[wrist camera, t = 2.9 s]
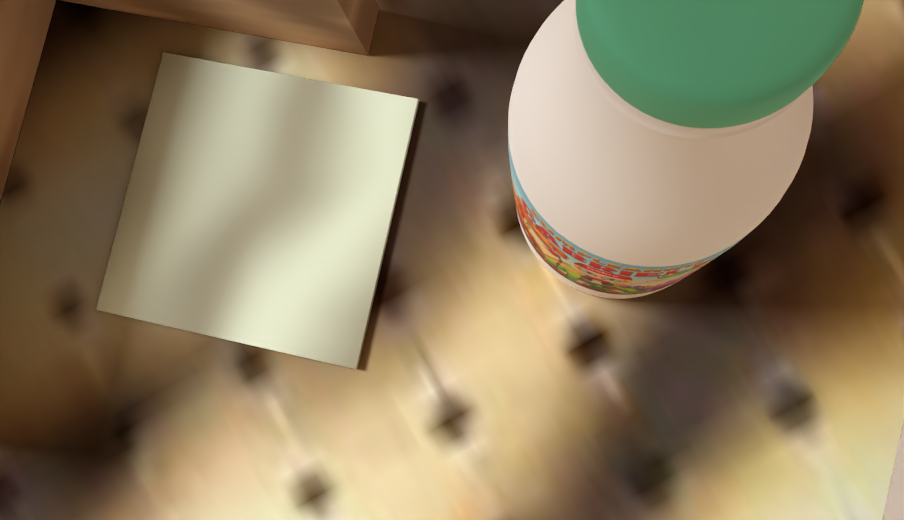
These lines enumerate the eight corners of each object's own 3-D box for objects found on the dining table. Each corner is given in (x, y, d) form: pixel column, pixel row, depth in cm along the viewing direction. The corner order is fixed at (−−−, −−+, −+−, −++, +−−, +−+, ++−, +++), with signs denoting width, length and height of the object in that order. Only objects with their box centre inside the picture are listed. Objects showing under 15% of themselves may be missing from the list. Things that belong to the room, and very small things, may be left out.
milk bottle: (520, 104, 34) (491, -254, 14) (719, 107, 33) (977, -268, 14) (512, 297, 33) (471, 196, 13) (716, 304, 32) (990, 211, 13)
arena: (-109, 426, 35) (-362, 450, 25) (26, -51, 37) (-160, -202, 27) (319, 535, 33) (224, 608, 23) (437, 19, 35) (396, -117, 25)
